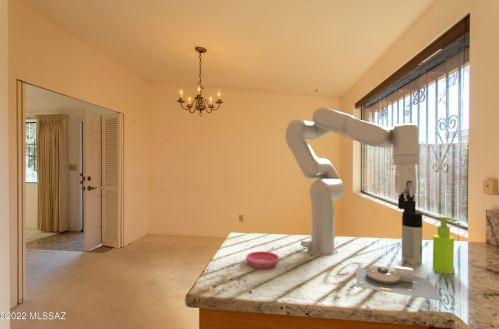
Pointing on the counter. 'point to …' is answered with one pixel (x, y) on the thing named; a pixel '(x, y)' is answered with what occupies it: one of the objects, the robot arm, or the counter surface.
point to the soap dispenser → (443, 248)
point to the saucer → (262, 259)
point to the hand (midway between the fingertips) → (406, 211)
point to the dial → (389, 274)
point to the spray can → (412, 238)
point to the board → (400, 286)
